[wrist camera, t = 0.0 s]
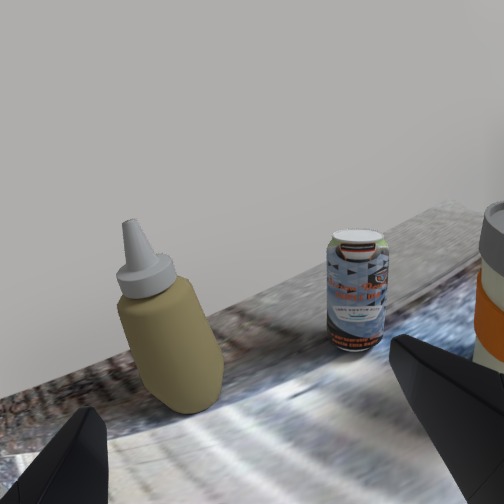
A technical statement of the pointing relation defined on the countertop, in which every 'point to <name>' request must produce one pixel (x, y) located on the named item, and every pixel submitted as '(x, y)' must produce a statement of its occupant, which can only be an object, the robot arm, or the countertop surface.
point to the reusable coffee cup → (490, 292)
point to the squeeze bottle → (167, 328)
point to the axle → (3, 490)
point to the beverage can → (356, 288)
